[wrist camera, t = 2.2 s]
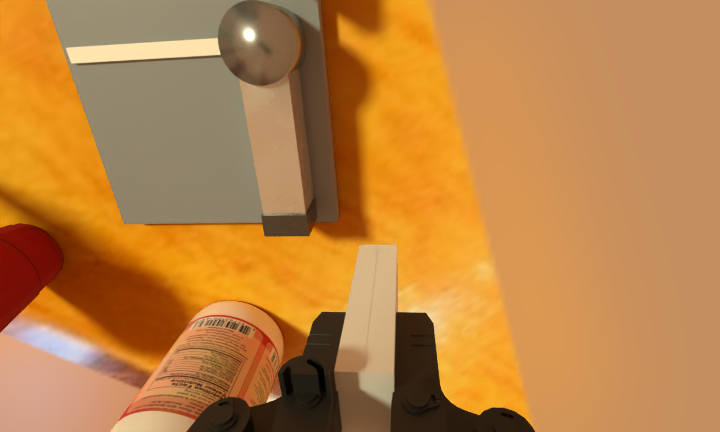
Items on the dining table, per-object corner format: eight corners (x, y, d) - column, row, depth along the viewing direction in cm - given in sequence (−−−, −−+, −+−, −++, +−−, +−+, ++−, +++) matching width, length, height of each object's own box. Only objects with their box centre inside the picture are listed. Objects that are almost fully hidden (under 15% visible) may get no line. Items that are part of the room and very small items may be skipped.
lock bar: (232, 6, 24) (210, 2, 21) (302, 1, 23) (289, -3, 21) (269, 218, 30) (255, 237, 27) (325, 217, 30) (317, 237, 27)
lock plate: (-4, -189, 22) (-106, -244, 18) (300, -231, 20) (272, -305, 16) (133, 217, 33) (91, 246, 29) (339, 215, 31) (329, 246, 27)
